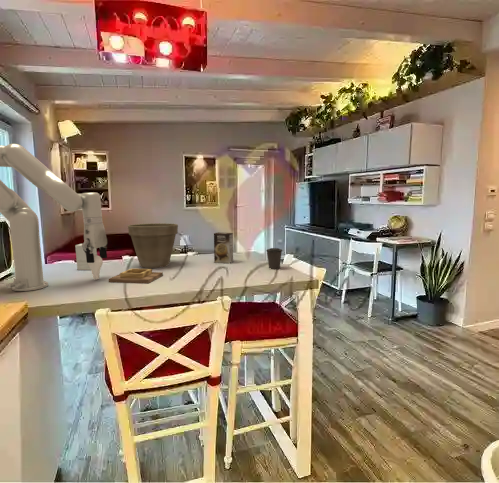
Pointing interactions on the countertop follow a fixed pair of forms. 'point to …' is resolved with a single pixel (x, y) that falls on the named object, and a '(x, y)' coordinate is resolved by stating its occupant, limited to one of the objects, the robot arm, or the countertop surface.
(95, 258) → the lightbulb
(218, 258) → the coffee box
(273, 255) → the coffee cup
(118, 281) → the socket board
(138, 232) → the plant pot
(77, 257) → the supplement box
